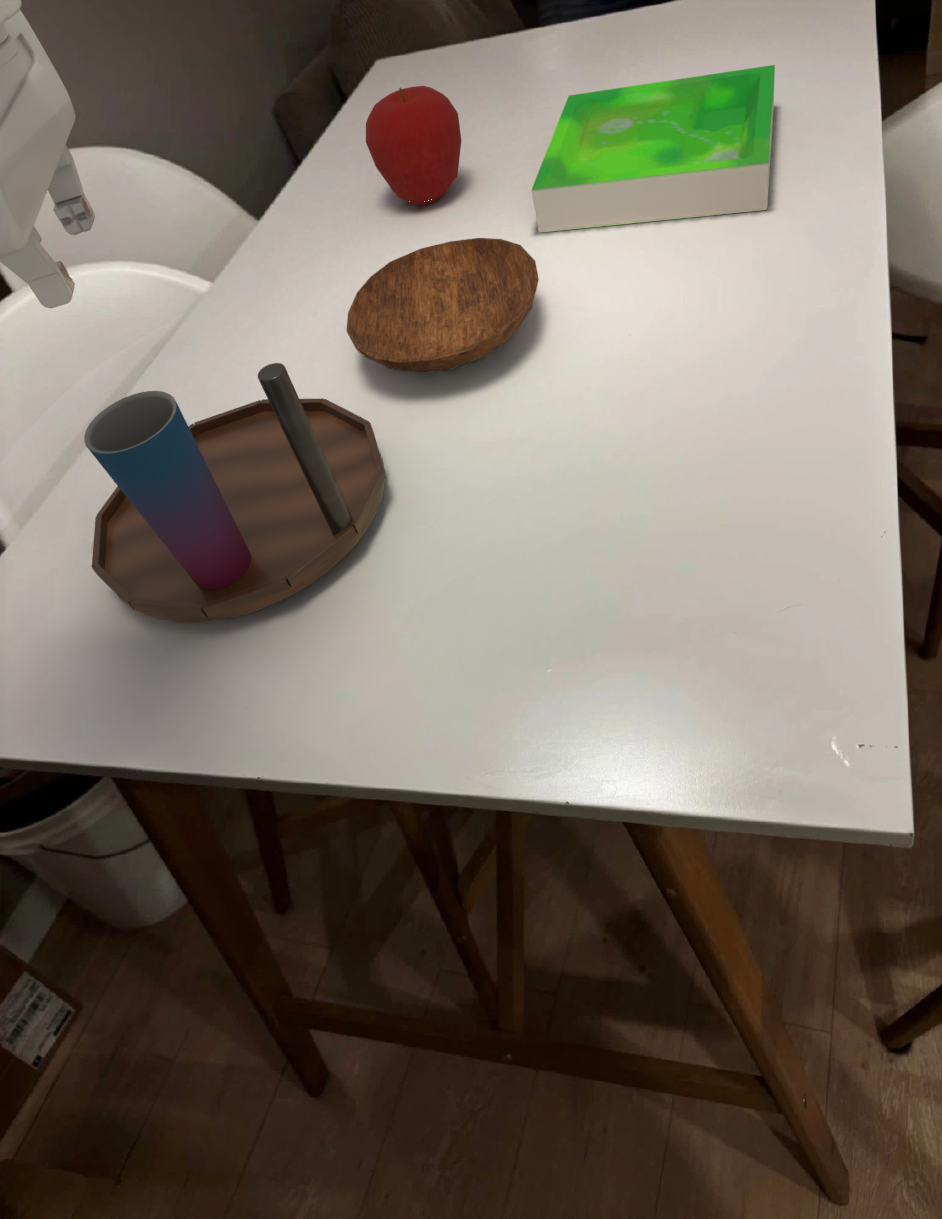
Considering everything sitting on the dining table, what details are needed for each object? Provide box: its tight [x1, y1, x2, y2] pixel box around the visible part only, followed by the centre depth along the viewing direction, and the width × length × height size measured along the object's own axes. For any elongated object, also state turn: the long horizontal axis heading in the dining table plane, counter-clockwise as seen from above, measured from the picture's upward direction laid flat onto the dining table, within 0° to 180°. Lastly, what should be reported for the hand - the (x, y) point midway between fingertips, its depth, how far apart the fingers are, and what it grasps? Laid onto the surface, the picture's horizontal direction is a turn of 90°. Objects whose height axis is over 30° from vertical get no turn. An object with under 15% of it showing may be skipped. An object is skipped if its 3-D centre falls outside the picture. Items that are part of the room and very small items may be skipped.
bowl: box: [345, 237, 540, 374], centre depth 90 cm, size 20×22×5 cm
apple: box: [365, 85, 462, 207], centre depth 110 cm, size 12×12×13 cm
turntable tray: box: [91, 362, 387, 624], centre depth 73 cm, size 26×26×16 cm
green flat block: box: [531, 64, 776, 234], centre depth 104 cm, size 25×25×5 cm
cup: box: [83, 390, 251, 590], centre depth 67 cm, size 7×7×15 cm
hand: (73, 261), depth 53 cm, fingers open, 8 cm apart
